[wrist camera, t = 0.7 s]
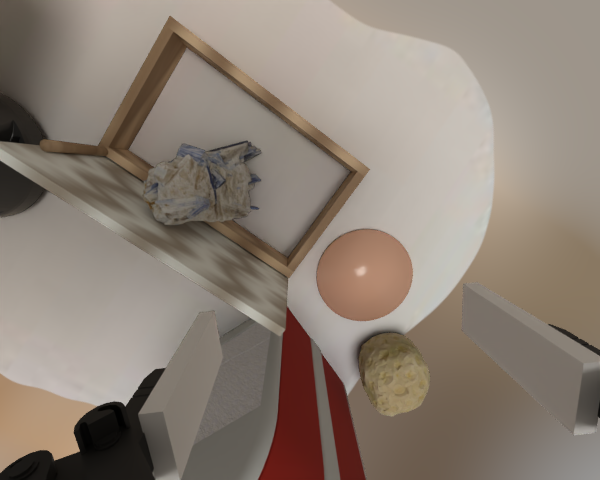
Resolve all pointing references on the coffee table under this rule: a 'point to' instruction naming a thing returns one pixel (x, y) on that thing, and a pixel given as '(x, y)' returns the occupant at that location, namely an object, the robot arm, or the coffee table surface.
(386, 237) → the peach round smooth part
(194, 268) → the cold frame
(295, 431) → the red striped box
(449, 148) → the coffee table surface
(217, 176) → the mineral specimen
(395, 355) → the decorative object
